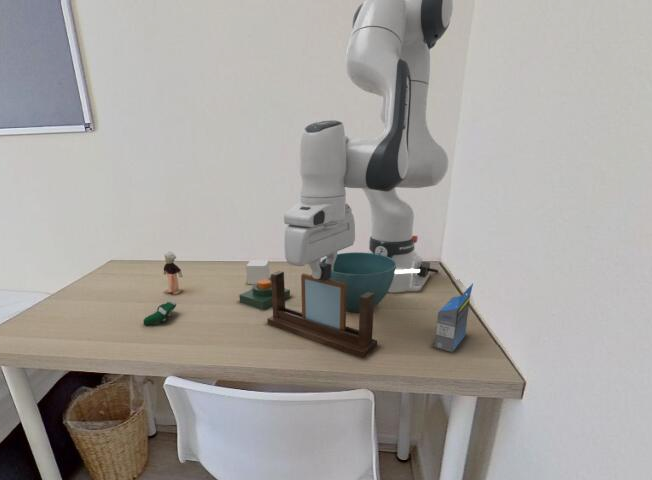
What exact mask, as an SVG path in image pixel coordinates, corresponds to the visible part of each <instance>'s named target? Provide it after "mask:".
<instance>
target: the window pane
mask: <svg viewBox="0 0 652 480" xmlns="http://www.w3.org/2000/svg"><path fill="white" fill-rule="evenodd" d="M319 266H320V269H323V277H321V278H319V279H316V278H313V277H312V274H309V273H304V272H303V273H302V274H301V276H300V281H301V282H300V285H301V289H300V290H301V312H302V317H303V318H306V319H309V320H312V321H315V322H318V323H322V324H325V325H328V326H331V327H334V328H337V329H340V330H343V331H346V326H347V312H346V292H347V285H346V283H344V282H339V281H335V280H331V279H329V278H331V264H326V263H319Z"/></svg>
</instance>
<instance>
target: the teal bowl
mask: <svg viewBox="0 0 652 480" xmlns="http://www.w3.org/2000/svg"><path fill="white" fill-rule="evenodd" d="M325 261H326V257H324V258H322V259H321V263H325ZM395 269H396V262H395V261H394V260H393V259H391V258H389V257H387V256H384V255H379V254H374V253H368V252H363V251H362V252H359V251H357V252H356V251H355V252H354V251H353V252H343V253H337V257H336V260H335V263H334V267H333V272H332V273H331V278H329V279H331V280H335V281H339V282H344V283H346V285H347V292H346V313H348V314H355V315H360V296H362V295H363V294H365V293H367V292H370V293H374V309H375V308H376V307H377V306H378V305H379V304H380V303H381V302H382V301H383V299H384V298H385V297H386V295H387V293H389V292H388V290H389V288H390V286H391V284H392V281H393V278H394V274H395Z"/></svg>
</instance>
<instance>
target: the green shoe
mask: <svg viewBox="0 0 652 480" xmlns="http://www.w3.org/2000/svg"><path fill="white" fill-rule="evenodd" d="M176 306H177V303H176V301H174V300H173V299H171V298H169V299H168V300H167V302H165V303H161V304H159V305H158V307H157V311H155V312H154V313H152V314H149V315H148V316H146V317H145V318H144V319H143V325H145V326H149V325H150V326H151V325H154V324H157V323H159V322H165V321H166V319H167V318H166V317H170V316H171V315H172V313H171V312H173V310H174V309H175V308H176Z"/></svg>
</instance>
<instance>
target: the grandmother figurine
mask: <svg viewBox="0 0 652 480" xmlns="http://www.w3.org/2000/svg"><path fill="white" fill-rule="evenodd" d="M163 255H164V260H165V261H164V262H165V265H164V266H163V272H162V273H163V275H165V276H166V275H167V282H168V283H167V284H168V289H166V291H165V294H172V295H178V294H180V293H181V292H182V291H181V290H180V287H179V279H178V276H179V278H183V273H182V269H181V268H180V267H179V266H178V265H177V264H176V263H174V262H175V260H176V259H177V256H176V254H175V253H174V252H172V251H165V252H164V254H163ZM177 274H178V275H177Z"/></svg>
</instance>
